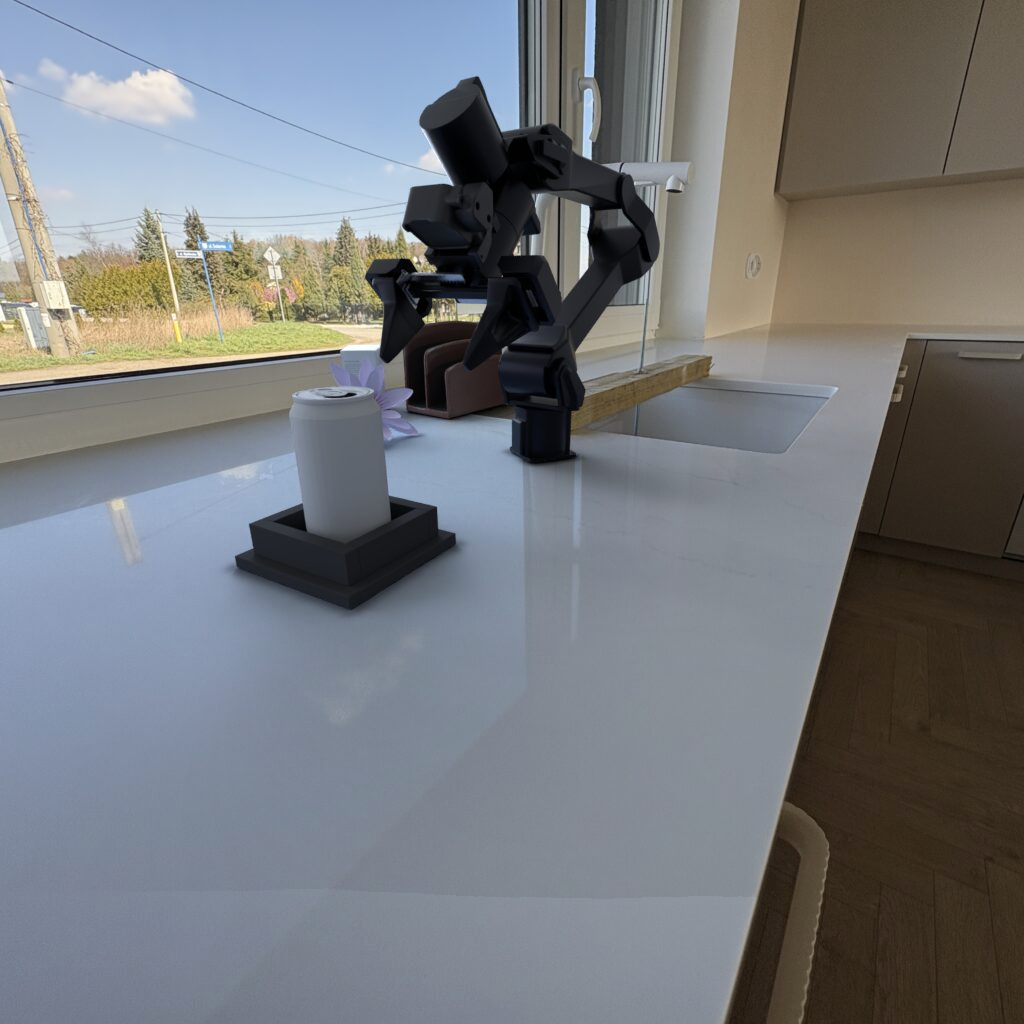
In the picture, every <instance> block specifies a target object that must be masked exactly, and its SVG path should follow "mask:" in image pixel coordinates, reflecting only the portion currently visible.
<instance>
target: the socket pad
mask: <svg viewBox="0 0 1024 1024" xmlns="http://www.w3.org/2000/svg"><path fill="white" fill-rule="evenodd" d="M389 503H390V514H391V521H390V522H388V523H386V524H384V525H382V526H380V527H378V528H376V529H374V530H372V531H370V532H368V533H366V534H364V535H362V536H360V537H358V538H356V539H354V540H352V541H350V542H348V543H346V544H345V543H341V542H338V541H335V540H331V539H328V538H325V537H321V536H318V535H315V534H311V533H308V532H307V528H306V521H305V515H304V508H303V502H301V503H299V504H296V505H293V506H291V507H288V508H286V509H284V510H283V509H282V510H281V511H278V512H275V513H273V514H270V515H267V516H266V517H265V516H264V517H262V518H260V519H257V520H255V521H252V522H249V523H248V527H249V532H250V538H251V543H252V548H251V549H248V550H245V551H243V552H241V553H238V554H235V555H234V559H235V560H234V561H235V565H236V568H238V569H241V570H244V571H246V572H248V573H251V574H254V575H256V576H260V577H262V578H265V579H267V580H269V581H273V582H275V583H278V584H281V585H283V586H285V587H289V588H291V589H294V590H297V591H299V592H302V593H304V594H307V595H310V596H313V597H315V598H318V599H321V600H323V601H326V602H328V603H331V604H334V605H337V606H340V607H342V608H345V609H346V610H347V609H348V610H353V609H354V608H356V607H358V606H359V605H361V604H362V603H364V602H366V601H368V600H369V599H370V598H372V597H373V596H375V595H377V594H378V593H380V592H381V591H383V590H384V589H386V588H388V587H389V586H391V585H392V584H394V583H396V582H397V581H399V580H400V579H402V578H404V577H406V576H407V575H408V574H410V573H412V572H413V571H415V570H416V569H418V568H419V567H421V566H423V565H424V564H426V563H427V562H429V561H431V560H433V559H435V558H436V557H437V556H439V555H440V554H442V553H444V552H445V551H447V550H448V549H451V547H453V546H455V545H456V544H457V535H456V534H457V533H456V532H452V531H448V530H446V529H445V530H444V529H441V528H439V516H438V515H439V514H438V506H436V505H432V504H427V503H423V502H418V501H415V500H411V499H406V498H403V497H398V496H393V495H389Z"/></svg>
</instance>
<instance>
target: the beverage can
mask: <svg viewBox="0 0 1024 1024" xmlns="http://www.w3.org/2000/svg"><path fill="white" fill-rule="evenodd" d="M373 396H374V390H373V389H370V388H366V387H357V386H339V385H337V386H336V385H334V386H333V385H332V386H321V387H313V388H307V389H302V390H299V391H295V392H294V393H292V394H291V397H292V399H291V400H293V404H292V406H291V407H290V410H289V412H288V414H289V415H288V416H289V422H290V429H291V436H292V443H293V450H294V455H295V461H296V469H297V476H298V481H299V486H300V487H299V489H300V494H301V501H302V502H301V503H303V508H304V515H305V521H306V528H307V532H308V533H311V534H315V535H318V536H321V537H325V538H328V539H331V540H335V541H338V542H341V543H345V544H346V543H348V542H350V541H352V540H354V539H356V538H358V537H360V536H362V535H364V534H366V533H368V532H370V531H372V530H374V529H376V528H378V527H380V526H382V525H384V524H386V523H388V522H390V521H391V514H390V503H389V496H390V493H389V481H388V471H387V459H386V451H385V438H384V437H383V426H382V415H381V407H380V406H379V404H378V403H377V402H376V400H375V399H374V398H373Z"/></svg>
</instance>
